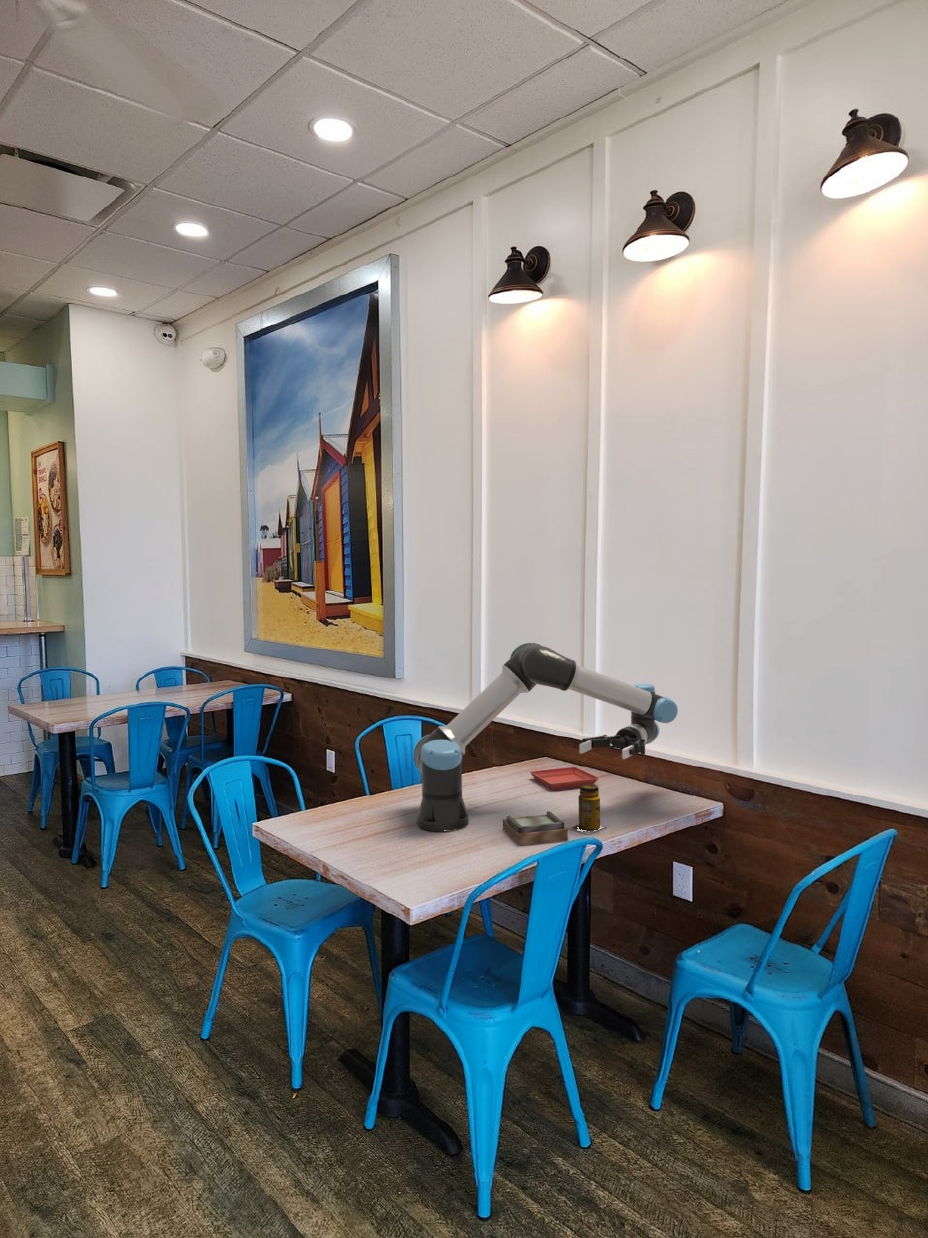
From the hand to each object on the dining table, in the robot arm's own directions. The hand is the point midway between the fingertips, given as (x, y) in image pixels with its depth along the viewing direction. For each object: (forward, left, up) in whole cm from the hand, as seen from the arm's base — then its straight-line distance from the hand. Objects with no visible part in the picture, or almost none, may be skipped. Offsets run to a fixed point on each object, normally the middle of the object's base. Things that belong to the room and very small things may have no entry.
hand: (601, 751), depth 234 cm
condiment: (-7, -6, -20) cm, 23 cm away
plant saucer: (+5, +41, -21) cm, 46 cm away
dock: (-23, -7, -20) cm, 32 cm away
